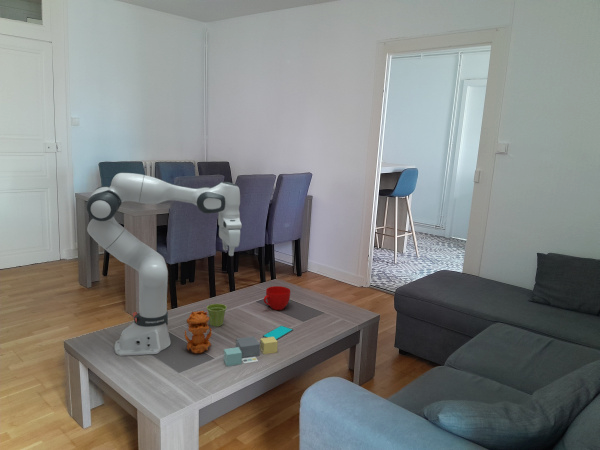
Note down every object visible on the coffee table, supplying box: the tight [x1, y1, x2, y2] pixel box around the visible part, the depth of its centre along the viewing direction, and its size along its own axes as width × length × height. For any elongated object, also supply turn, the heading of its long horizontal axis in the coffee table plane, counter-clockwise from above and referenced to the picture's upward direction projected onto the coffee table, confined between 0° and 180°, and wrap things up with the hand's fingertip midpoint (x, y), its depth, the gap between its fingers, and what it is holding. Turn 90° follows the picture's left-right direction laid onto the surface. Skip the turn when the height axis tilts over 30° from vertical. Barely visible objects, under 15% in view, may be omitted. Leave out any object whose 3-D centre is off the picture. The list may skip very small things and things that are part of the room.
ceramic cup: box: [263, 285, 291, 311], centre depth 234 cm, size 13×17×10 cm
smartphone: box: [262, 325, 294, 341], centre depth 205 cm, size 7×1×15 cm
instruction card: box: [242, 356, 259, 364], centre depth 179 cm, size 6×4×1 cm, turn 113°
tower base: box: [235, 336, 261, 359], centre depth 185 cm, size 8×8×5 cm
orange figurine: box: [184, 310, 213, 354], centre depth 183 cm, size 11×11×18 cm
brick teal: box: [223, 346, 243, 367], centre depth 176 cm, size 6×5×5 cm
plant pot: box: [206, 303, 228, 328], centre depth 211 cm, size 9×9×9 cm
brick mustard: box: [259, 337, 278, 355], centre depth 187 cm, size 6×5×5 cm
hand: (228, 252), depth 187 cm, fingers open, 8 cm apart
